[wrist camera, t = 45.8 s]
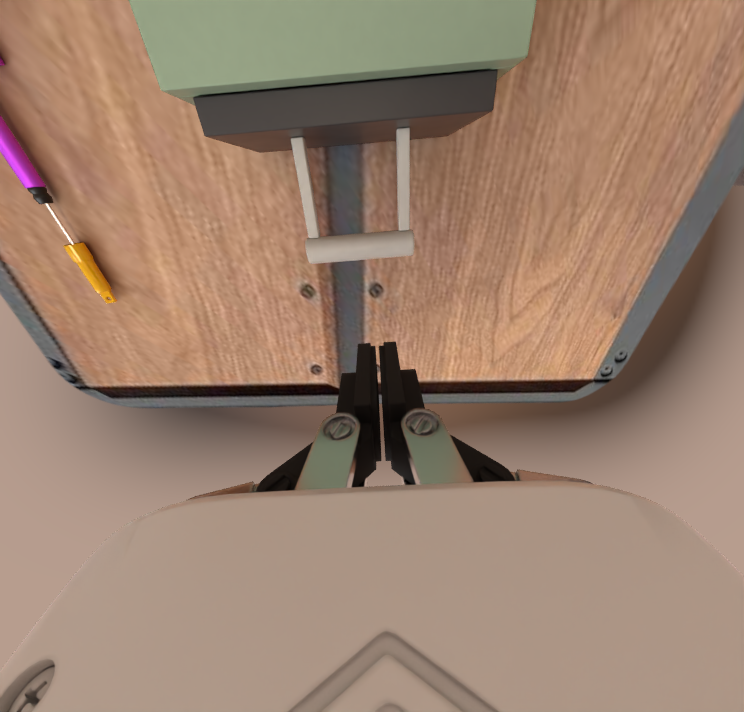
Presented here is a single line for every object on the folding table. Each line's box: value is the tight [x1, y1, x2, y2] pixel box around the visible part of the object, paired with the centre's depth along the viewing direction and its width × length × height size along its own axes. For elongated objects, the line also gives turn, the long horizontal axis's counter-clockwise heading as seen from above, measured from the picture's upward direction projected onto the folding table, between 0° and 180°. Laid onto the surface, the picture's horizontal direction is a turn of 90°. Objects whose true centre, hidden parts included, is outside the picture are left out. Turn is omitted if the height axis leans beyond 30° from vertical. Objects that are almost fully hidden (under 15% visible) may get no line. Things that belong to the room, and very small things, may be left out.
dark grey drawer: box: [193, 69, 498, 264], centre depth 12 cm, size 19×12×7 cm, turn 4°
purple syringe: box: [0, 57, 117, 303], centre depth 18 cm, size 3×1×16 cm
